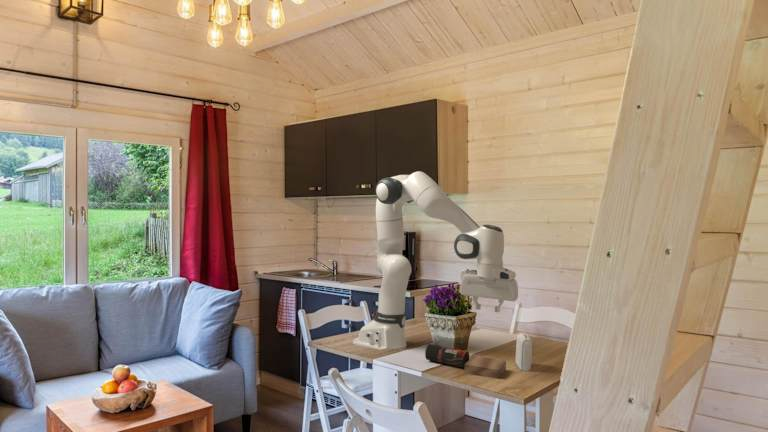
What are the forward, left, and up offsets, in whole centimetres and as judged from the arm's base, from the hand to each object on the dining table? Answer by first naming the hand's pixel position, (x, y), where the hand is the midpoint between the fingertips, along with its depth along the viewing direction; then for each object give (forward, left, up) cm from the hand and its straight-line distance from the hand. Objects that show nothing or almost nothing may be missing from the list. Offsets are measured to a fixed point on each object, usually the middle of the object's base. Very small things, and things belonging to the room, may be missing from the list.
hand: (487, 310), depth 205 cm
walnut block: (+1, 0, -23) cm, 23 cm away
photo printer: (+11, +14, -22) cm, 29 cm away
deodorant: (-7, +1, -19) cm, 20 cm away
